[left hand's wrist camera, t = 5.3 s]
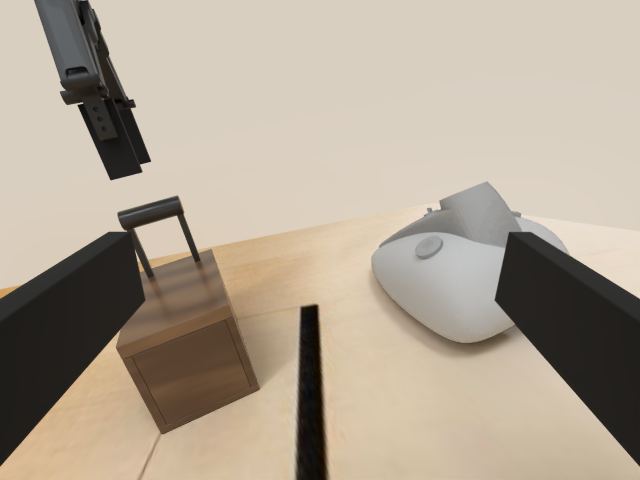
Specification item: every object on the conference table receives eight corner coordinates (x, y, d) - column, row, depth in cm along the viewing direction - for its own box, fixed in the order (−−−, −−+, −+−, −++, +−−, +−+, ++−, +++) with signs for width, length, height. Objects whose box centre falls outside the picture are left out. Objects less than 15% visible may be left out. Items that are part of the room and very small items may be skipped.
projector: (537, 249, 48) (540, 142, 43) (607, 371, 29) (628, 201, 23) (379, 258, 56) (364, 168, 51) (347, 359, 36) (317, 229, 31)
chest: (165, 340, 47) (139, 284, 44) (234, 313, 50) (215, 258, 47) (161, 434, 32) (122, 360, 29) (259, 389, 35) (233, 316, 32)
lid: (140, 282, 44) (107, 211, 41) (214, 257, 47) (189, 188, 44) (121, 359, 29) (67, 257, 26) (233, 316, 32) (197, 217, 28)
